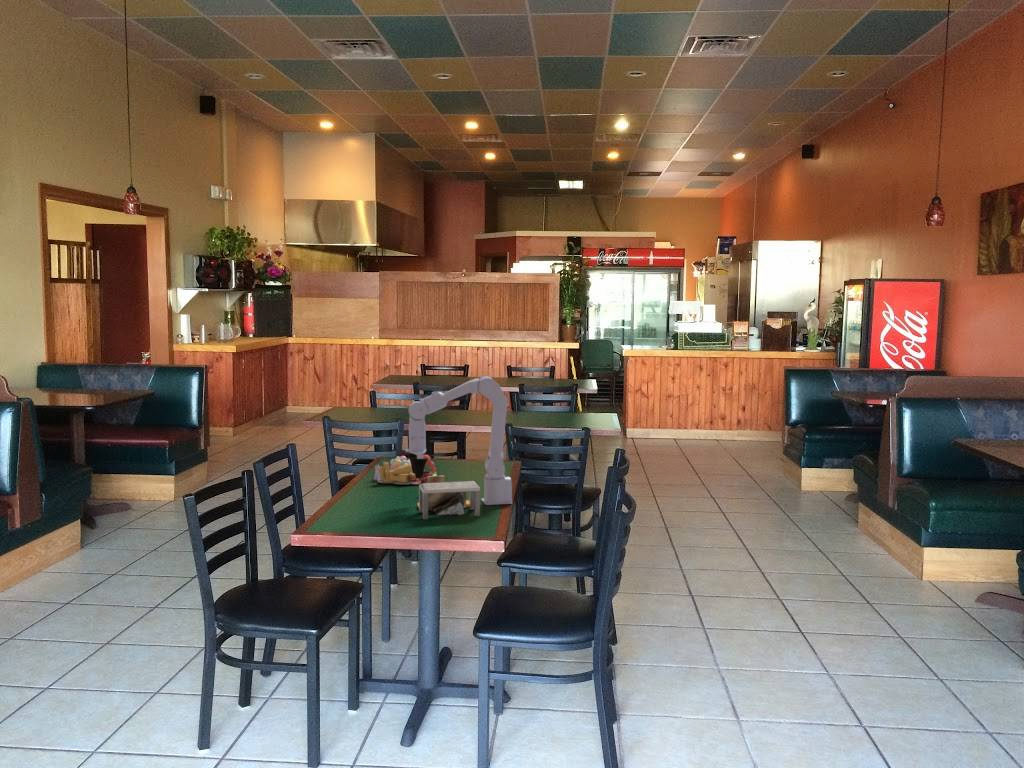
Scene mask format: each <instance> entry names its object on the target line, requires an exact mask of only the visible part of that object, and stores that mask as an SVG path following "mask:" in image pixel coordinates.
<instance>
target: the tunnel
mask: <svg viewBox="0 0 1024 768" xmlns="http://www.w3.org/2000/svg"><path fill="white" fill-rule="evenodd" d="M418 487H419V488H418V489H419V490H418V495H419V496H418V503H419V509H418V513H422V519H423V520H428V519H429V510H428V493H442V492H463V491H466V492H469V501H470V504H469V510H470V511H474V516H475V517H480V516H481V510H480V509H481V487H480V486H479V485H478V484H477V483H476V481H474V480H469V481H467V480H466V481H465V480H464V481H445V482H441V483H428V482H426V483H419V484H418Z"/></svg>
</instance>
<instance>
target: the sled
mask: <svg viewBox="0 0 1024 768" xmlns="http://www.w3.org/2000/svg"><path fill="white" fill-rule="evenodd" d="M427 481H428V482H427V483H441V482H446V481H445V475H443V474H442V475H441V474H440V475H437V476H427ZM453 493H455V492H442V493H428V511H430V509H429V507H430V505H431V504H433V503H434V502H437V501H439V500H441V499H443V498H445V497H447V496H448V495H450V494H453ZM461 494H462V495H463V497H464V506H463V508H464V509H467V508H466V500H467V491H463V492H461Z"/></svg>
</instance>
